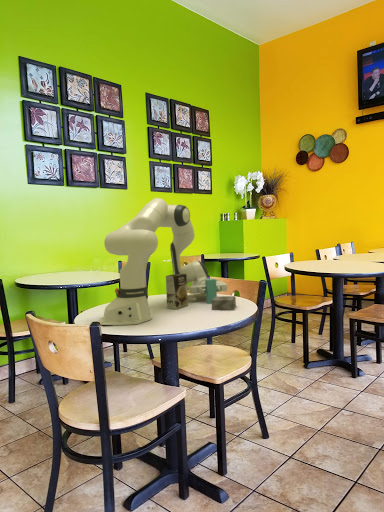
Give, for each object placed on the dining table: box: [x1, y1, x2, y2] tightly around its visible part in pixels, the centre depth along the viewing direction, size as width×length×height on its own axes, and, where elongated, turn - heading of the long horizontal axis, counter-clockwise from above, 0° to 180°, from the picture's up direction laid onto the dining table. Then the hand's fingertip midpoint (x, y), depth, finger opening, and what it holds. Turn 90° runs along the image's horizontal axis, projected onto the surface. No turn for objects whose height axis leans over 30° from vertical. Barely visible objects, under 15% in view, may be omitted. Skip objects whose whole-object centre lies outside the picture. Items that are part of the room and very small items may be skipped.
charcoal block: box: [210, 295, 237, 311], centre depth 187 cm, size 10×10×5 cm
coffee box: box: [165, 274, 189, 310], centre depth 194 cm, size 9×6×16 cm
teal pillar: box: [205, 278, 218, 305], centre depth 201 cm, size 4×4×12 cm
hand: (211, 290), depth 200 cm, fingers open, 6 cm apart
